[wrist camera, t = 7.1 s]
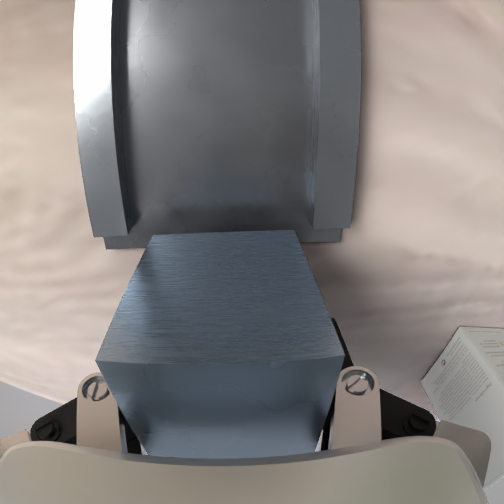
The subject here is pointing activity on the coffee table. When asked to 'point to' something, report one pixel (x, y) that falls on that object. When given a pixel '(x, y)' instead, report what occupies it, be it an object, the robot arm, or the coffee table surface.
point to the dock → (217, 116)
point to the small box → (472, 388)
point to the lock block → (223, 347)
